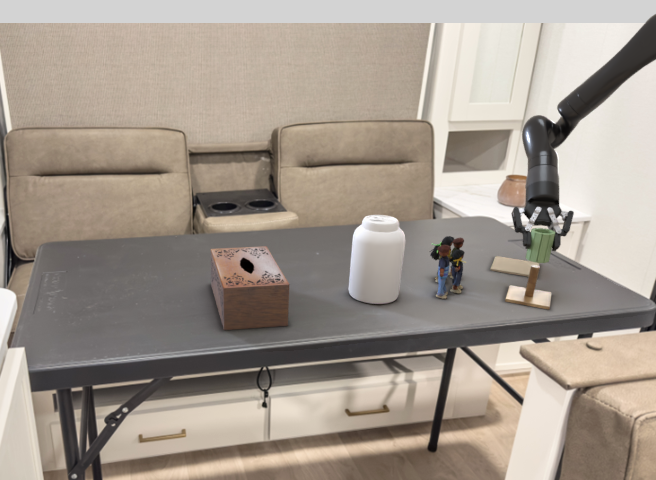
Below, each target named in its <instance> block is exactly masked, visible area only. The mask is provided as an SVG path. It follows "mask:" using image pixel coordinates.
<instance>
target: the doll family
mask: <svg viewBox="0 0 656 480" xmlns="http://www.w3.org/2000/svg"><path fill="white" fill-rule="evenodd" d="M464 243H465V239H464V238H463V237H456V238H455V237H454V236H451V235H446V236H444V237H443V239H442V240H441V241H440V242H439V243H436V244H435V243H431V245H432V246H434V247H433V249H431V250H430V251H429V253H430V256H429V257H431V259H433V261H438V267H437V269H438V270H437V272H436V277H435V278H434V280H435V283H437V284H438V287H437V292H436V294H435V297H436V298H439V299H443V300H446V299H448V295H449V292H451V293H454V294H461V293H462V290H463V289H464V287H463V285H462V284H461V283H462V278H463V274H464V273H463V272H464V264H466V263H467V261H464V260H463V259H464V256H465V251H464V250H463V249H461V248H462V247H464ZM452 246H453V248H452ZM448 276H449V278H450V279H452V280H451V284H452V286H451V288H450V290H449V292H448V290H447V285H446V283H447V278H448Z"/></svg>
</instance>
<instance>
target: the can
mask: <svg viewBox="0 0 656 480" xmlns="http://www.w3.org/2000/svg"><path fill="white" fill-rule="evenodd" d="M405 249H406V235H405V232H404V231H403V229H401V227H400V221H399V219H397V218H396V217H394V216H392V215H387V214H370V215H366V216H364V217H363V219H362V221H361V224H360V225H359V226H357V227H356V228H355V229H354V232H353V234H352V243H351V255H350V265H349V267H350V268H349V278H348V294H349V295H350V296H351V297H352V298H353V299H354V300H357V301H359V302H362V303H367V304H371V305H372V304H373V305H374V304H375V305H383V304H389V303H392V302H394V301H396V300H397V299H398V297H399V295H400V289H401V280H402V272H403V265H404V264H403V263H404V258H405V257H404V256H405Z"/></svg>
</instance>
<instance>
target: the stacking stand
mask: <svg viewBox="0 0 656 480" xmlns="http://www.w3.org/2000/svg"><path fill="white" fill-rule="evenodd" d="M540 268H541V267H540V265H539V266H537V265H531V268H530V273H529V277H527V282H526V286H525V287H523V286H516V285H511V284H509V286H508V289H507V292H506V296H505V298H504V302H506V303H511V304H517V305H521V306H528V307H534V308H539V309H544V310H547V311H549V310H550V307H551V302H552V301H551V300H552V292H551V291H546V290H540V289H536V286H537V281H538V277H539V272H540Z"/></svg>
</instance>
